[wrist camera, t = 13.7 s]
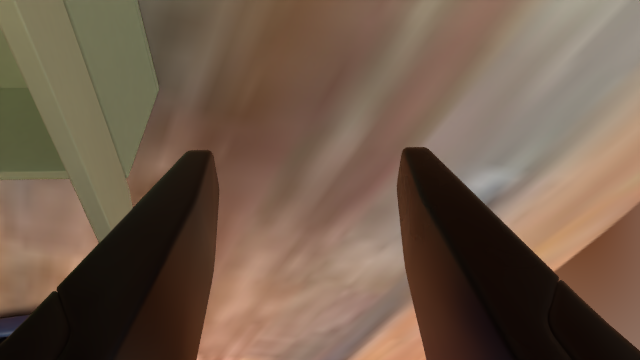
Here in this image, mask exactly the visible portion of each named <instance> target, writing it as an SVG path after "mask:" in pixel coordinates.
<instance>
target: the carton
mask: <svg viewBox="0 0 640 360" xmlns="http://www.w3.org/2000/svg"><path fill="white" fill-rule="evenodd" d="M63 3H64V6H65V9H66V11H67V14H68V17H69V20H70V23H71V26H72V28H73V31H74V34H75V37H76V40H77V43H78V45H79V48H80V51H81V54H82V57H83V60H84V62H85V65H86V68H87V71H88V74H89V77H90V79H91V82H92V85H93V88H94V91H95V93H96V96H97V99H98V102H99V105H100V108H101V110H102V113H103V116H104V119H105V122H106V125H107V127H108V130H109V133H110V136H111V139H112V142H113V144H114V147H115V150H116V153H117V156H118V159H119V161H120V164H121V167H122V170H123V173H124V176H125V178H128V176H129V173H130V170H131V167H132V165H133V162H134V159H135V156H136V153H137V150H138V148H139V145H140V142H141V139H142V136H143V133H144V131H145V128H146V125H147V122H148V119H149V116H150V114H151V111H152V108H153V105H154V102H155V99H156V97H157V93H158V91H159V85H158V81H157V77H156V73H155V69H154V65H153V61H152V57H151V53H150V49H149V45H148V41H147V37H146V33H145V29H144V25H143V21H142V17H141V13H140V9H139V5H138V1H137V0H63ZM25 179H70V178H69V176H68V174H67V172H66V170H65V168H64V165H63V163H62V161H61V159H60V157H59V154H58V152H57V150H56V148H55V146H54V144H53V141H52V139H51V137H50V135H49V133H48V130H47V128H46V126H45V124H44V122H43V120H42V117H41V115H40V113H39V111H38V109H37V106H36V104H35V102H34V100H33V98H32V96H31V93H30V91H29V89H28V87H27V85H26V82H25V80H24V78H23V76H22V74H21V72H20V69H19V67H18V65H17V63H16V61H15V58H14V56H13V54H12V52H11V50H10V48H9V45H8V43H7V41H6V39H5V37H4V34H3V32H2V30H1V28H0V180H25Z"/></svg>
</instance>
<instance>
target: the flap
mask: <svg viewBox="0 0 640 360" xmlns="http://www.w3.org/2000/svg"><path fill="white" fill-rule="evenodd" d="M0 28H1V30H2V32H3V34H4V37H5V39H6V41H7V43H8V45H9V48H10V50H11V52H12V54H13V56H14V58H15V61H16V63H17V65H18V67H19V69H20V72H21V74H22V76H23V78H24V80H25V82H26V85H27V87H28V89H29V91H30V93H31V96H32V98H33V100H34V102H35V104H36V106H37V109H38V111H39V113H40V115H41V117H42V120H43V122H44V124H45V126H46V128H47V130H48V133H49V135H50V137H51V139H52V141H53V144H54V146H55V148H56V150H57V152H58V154H59V157H60V159H61V161H62V163H63V165H64V168H65V170H66V172H67V174H68V176H69V178H70V181H71V183H72V185H73V187H74V189H75V192H76V194H77V196H78V198H79V200H80V202H81V205H82V207H83V209H84V211H85V213H86V216H87V218H88V220H89V222H90V224H91V226H92V229H93V231H94V233H95V235H96V237H97V240H98V242H99V243H100V242H101V241H102V240H103V239H104V238H105V237H106V236H107V235H108V234H109V232H110V231H111V230H112V229H113V228H114V227H115V226H116V225H117V224H118V223H119V222H120V221H121V220H122V219H123V218H124V217H125V216H126V215H127V214H128V213H129V212H130V211H131V209H132V208H133V207H132V202H131V196H130V191H129V187H128V184H127V181H126V178H125V176H124V173H123V170H122V167H121V164H120V161H119V159H118V156H117V153H116V150H115V147H114V144H113V142H112V139H111V136H110V133H109V130H108V127H107V125H106V122H105V119H104V116H103V113H102V110H101V108H100V105H99V102H98V99H97V96H96V93H95V91H94V88H93V85H92V82H91V79H90V77H89V74H88V71H87V68H86V65H85V62H84V60H83V57H82V54H81V51H80V48H79V45H78V43H77V40H76V37H75V34H74V31H73V28H72V26H71V23H70V20H69V17H68V14H67V11H66V9H65V6H64V3H63V0H0Z"/></svg>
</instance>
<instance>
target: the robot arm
mask: <svg viewBox="0 0 640 360" xmlns="http://www.w3.org/2000/svg"><path fill="white" fill-rule="evenodd" d="M397 197H398V206H399V216H400V226H401V235H402V245H403V254H404V262H405V269H406V274H407V279H408V283H409V287H410V291H411V296H412V300H413V304H414V308H415V313H416V317H417V321H418V325H419V330H420V334H421V338H422V342H423V347H424V351H425V355H426V359H427V360H640V351H639V350H638V349H637V348H636V347H635V346H633V345H632V344H631V343H630V342H629V341H628V340H626V339H625V338H624V337H623V336H622V335H621V334H620V333H618V332H617V331H616V330H615V329H614V328H613V327H611V326H610V325H609V324H608V323H607V322H606V321H605V320H604V319H603V318H601V317H600V316H599V315H598V314H597V313H596V312H595V311H594V310H593V309H592V308H590V306H589V305H588V304H586V303H585V302H584V301H583V300H582V299H581V298H580V297H579V296H578V295H577V294H576V293H575V292H574V291H573V290H572V289H571V288H570V287H569V286H568V285H567V284H566V283H565V282H564V281H562V280H560V281H558V280H559V277H558V276H557V275H556V274H555V273H554V272H553V271H552V270H551V269H550V268H549V267H548V266H547V265H546V264H545V263H544V262H543V261H542V260H541V259H540V258H539V257H538V256H537V255H536V254H535V253H534V252H533V251H532V250H531V249H530V248H529V247H528V246H527V245H526V244H525V243H524V242H523V241H522V240H521V239H520V238H519V237H518V236H517V235H516V234H515V233H514V232H513V231H512V230H511V229H510V228H509V227H508V226H506V225H505V224H504V223H503V222H502V221H501V220H500V219H499V218H498V217H497V216H496V215H495V214H494V213H493V212H492V211H491V210H490V209H489V208H488V207H487V206H486V205H485V204H484V203H483V202H482V201H481V200H480V199H479V198H478V197H477V196H476V195H475V194H474V193H473V192H472V191H471V190H470V189H469V188H468V187H467V186H466V185H465V184H464V183H463V182H462V181H461V180H460V179H459V178H458V177H457V176H456V175H455V174H454V173H452V172H451V171H450V170H449V169H448V168H447V167H446V166H445V165H444V164H443V163H442V162H441V161H440V160H439V159H438V158H437V157H436V156H435V155H434V154H433V153H432V152H431V151H430V150H429V149H427V148H425V147H407V148H405V149H403V151H402V155H401V161H400V167H399V174H398V180H397ZM218 206H219V184H218V178H217V173H216V167H215V162H214V156H213V154H212V152H211V151H209V150H191V151H188V152H186V153H185V154H184V155H183V156H182V157H181V158H180V159H179V160H178V161H177V162H176V163H175V164H174V166H173V167H172V168H171V169H170V170H169V171H168V172H167V173H166V174H165V175H164V176H163V177H162V178H161V179H160V180H159V181H158V182H157V183H156V184H155V185H154V186H153V187H152V189H151V190H150V191H149V192H148V193H147V194H146V195H145V196H144V197H143V198H142V199H141V200H140V201H139V202H138V203H137V204H136V205H135V206H134V207H133V208H132V209H131V211H130V212H129V213H128V214H127V215H126V216H125V217H124V218H123V219H122V220H121V221H120V222H119V223H118V224H117V225H116V226H115V227H114V228H113V229H112V230H111V231H110V232H109V234H108V235H107V236H106V237H105V238H104V239H103V240H102V241H101V242H100V243H99V244H98V245H97V246H96V247H95V248H94V249H93V250H92V251H91V252H90V253H89V254H88V255H87V257H86V258H85V259H84V260H83V261H82V262H81V263H80V264H79V265H78V266H77V267H76V268H75V269H74V270H73V271H72V272H71V273H70V274H69V275H68V276H67V277H66V278H65V280H64V281H63V282H62V283H61V284H60V285H59V286H58V287H57V292H56V291H53V292H52V293H51V294H50V295H49V296H48V297H47V298H46V299H45V300H44V301H43V302H42V303H41V304H40V305H39V306H38V307H37V309H36V310H35V311H34V312H33V313H32V314H31V315H30V316H29V317H28V318H27V319H26V320H25V321H24V322H23V323H22V324H21V325H20V326H19V327H18V328H17V329H16V330H15V331H14V332H13V333H12V334H11V335H10V336H9V337H8V338H6V339H5V340H4V341H3V342H2V343H1V344H0V360H196V359H197V354H198V349H199V344H200V339H201V334H202V329H203V324H204V319H205V314H206V309H207V304H208V299H209V294H210V289H211V284H212V278H213V272H214V262H215V249H216V235H217V220H218Z"/></svg>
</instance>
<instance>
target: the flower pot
mask: <svg viewBox="0 0 640 360" xmlns="http://www.w3.org/2000/svg"><path fill="white" fill-rule="evenodd" d="M29 316H30V315H24V316H16V317H9V318H2V319H0V344H1V343H2V342H3V341H4V340H5V339H6V338H8V337H9V336H10V335H11V334H12V333H13V332H14V331H15V330H16V329H17V328H18V327H19V326H20V325H21V324H22V323H23V322H24V321H25V320H26V319H27V318H28V317H29Z"/></svg>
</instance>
